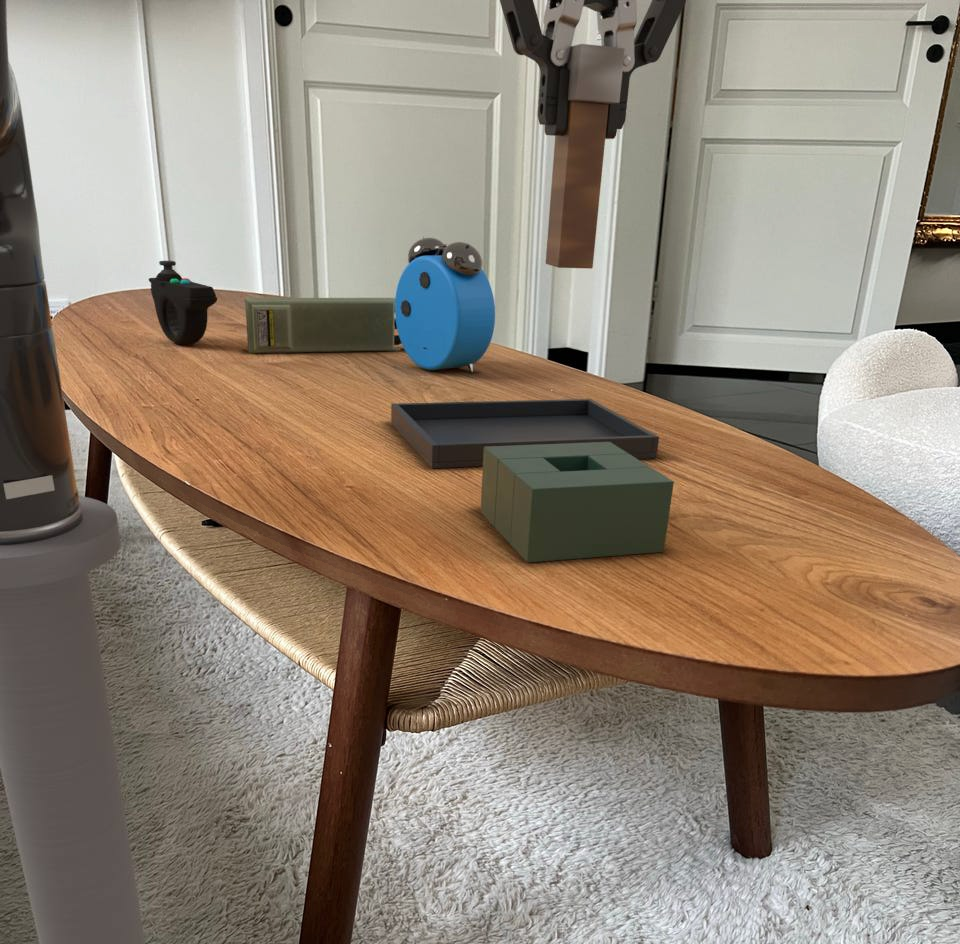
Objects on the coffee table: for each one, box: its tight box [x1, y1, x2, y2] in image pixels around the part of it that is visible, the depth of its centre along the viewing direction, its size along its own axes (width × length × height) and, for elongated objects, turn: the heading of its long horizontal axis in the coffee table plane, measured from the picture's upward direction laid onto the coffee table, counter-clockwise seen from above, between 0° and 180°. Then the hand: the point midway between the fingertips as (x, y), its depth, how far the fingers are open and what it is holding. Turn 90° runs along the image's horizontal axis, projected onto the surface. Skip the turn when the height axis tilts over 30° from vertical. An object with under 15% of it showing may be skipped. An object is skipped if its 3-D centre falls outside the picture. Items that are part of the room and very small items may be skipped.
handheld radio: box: [244, 297, 402, 354], centre depth 124 cm, size 7×3×25 cm
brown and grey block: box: [545, 43, 625, 270], centre depth 63 cm, size 3×5×13 cm, turn 17°
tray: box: [390, 398, 660, 469], centre depth 88 cm, size 21×15×2 cm
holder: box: [480, 442, 675, 563], centre depth 65 cm, size 10×10×5 cm
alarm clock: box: [394, 236, 496, 373], centre depth 114 cm, size 13×6×15 cm, turn 40°
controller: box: [148, 260, 218, 345], centre depth 121 cm, size 4×12×10 cm, turn 43°
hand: (579, 135), depth 62 cm, fingers closed on brown and grey block, 3 cm apart
